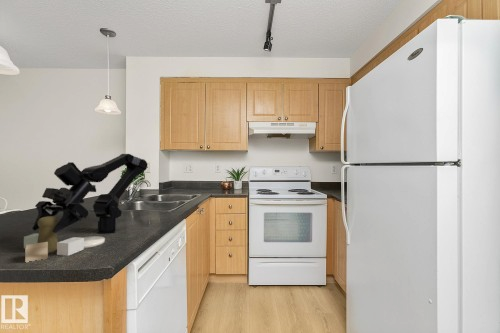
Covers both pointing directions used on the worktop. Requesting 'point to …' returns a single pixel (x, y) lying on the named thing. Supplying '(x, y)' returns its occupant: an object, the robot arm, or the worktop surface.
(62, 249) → the grey block
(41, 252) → the beech block
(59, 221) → the robot arm
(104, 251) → the worktop surface
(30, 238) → the sage block
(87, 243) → the cream plate
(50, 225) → the cork
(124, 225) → the worktop surface
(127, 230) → the worktop surface
